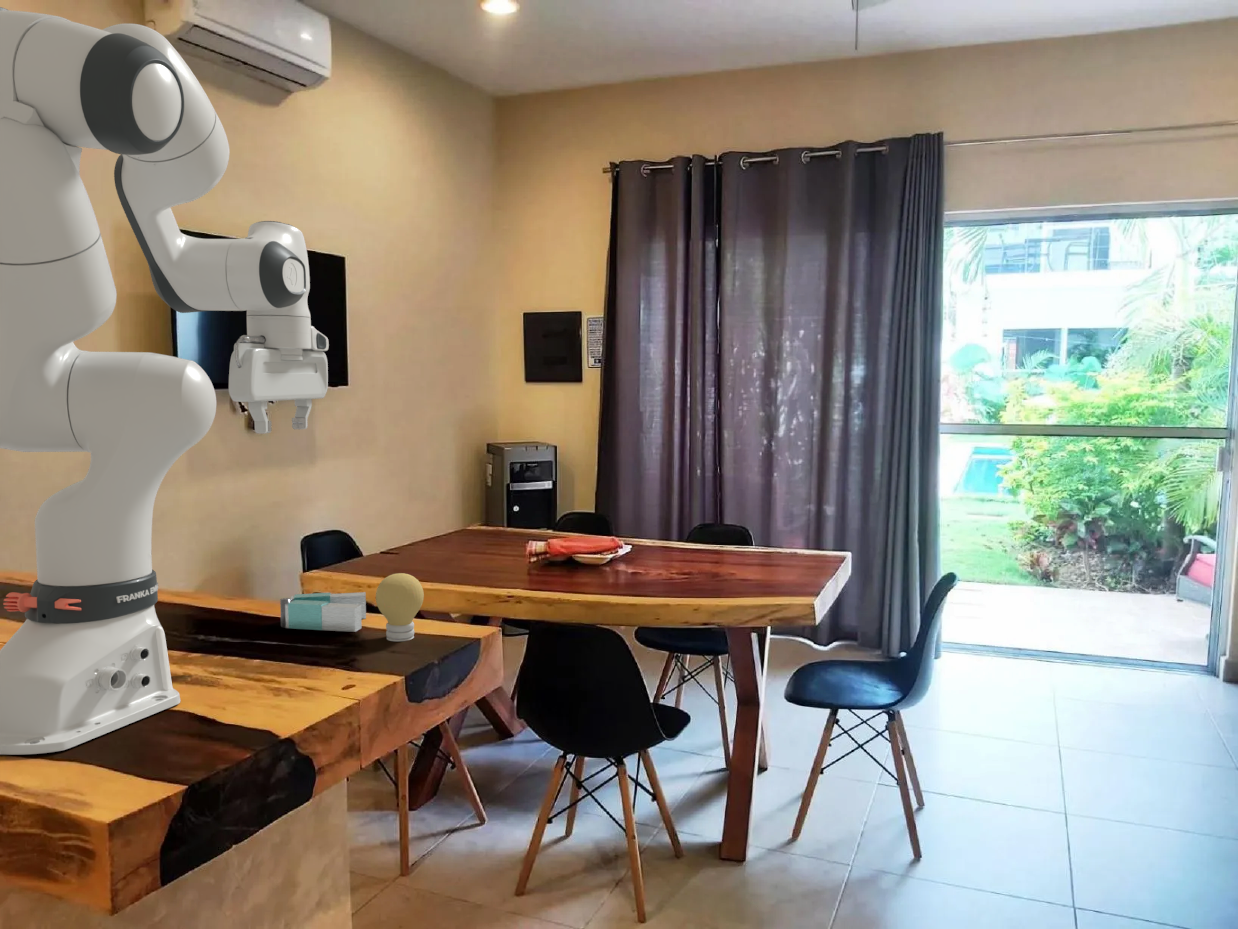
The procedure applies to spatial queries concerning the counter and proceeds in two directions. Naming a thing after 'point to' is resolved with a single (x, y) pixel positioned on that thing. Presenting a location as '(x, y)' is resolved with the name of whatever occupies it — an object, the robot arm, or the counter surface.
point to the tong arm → (336, 599)
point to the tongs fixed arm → (320, 615)
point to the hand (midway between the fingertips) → (282, 431)
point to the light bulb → (399, 604)
